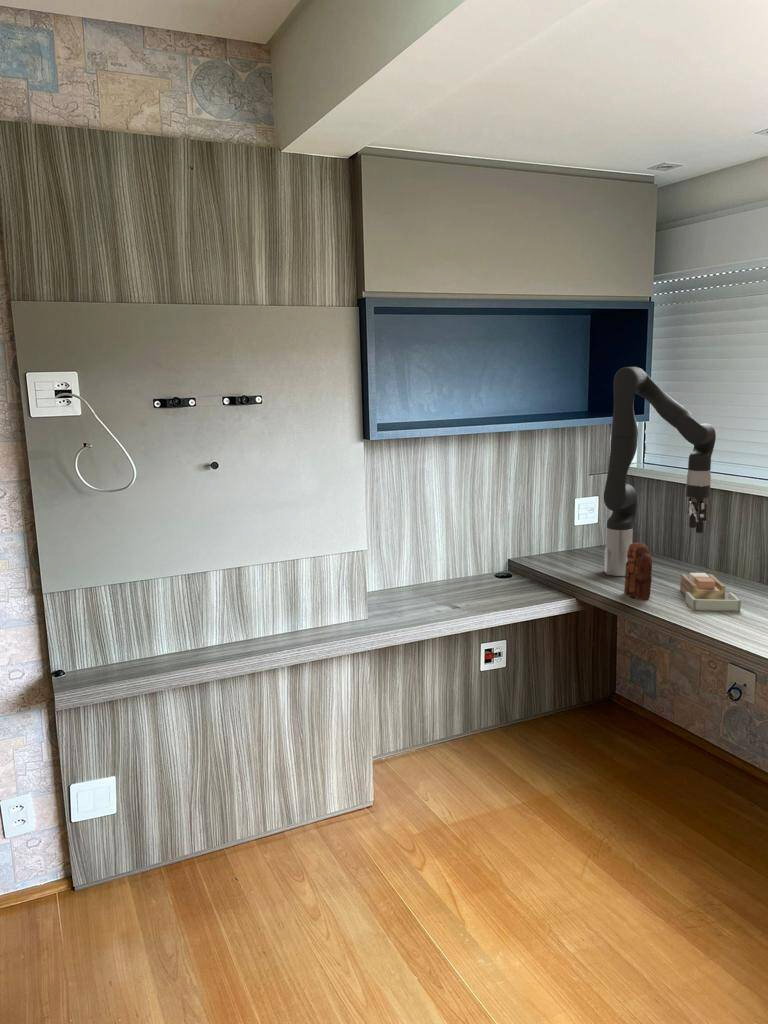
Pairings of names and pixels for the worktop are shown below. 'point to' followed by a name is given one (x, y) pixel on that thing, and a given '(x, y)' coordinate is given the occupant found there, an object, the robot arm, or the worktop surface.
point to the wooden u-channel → (707, 594)
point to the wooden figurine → (638, 571)
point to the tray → (713, 604)
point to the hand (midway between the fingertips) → (695, 530)
